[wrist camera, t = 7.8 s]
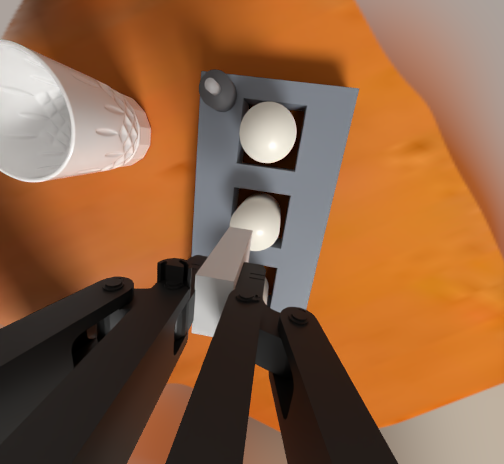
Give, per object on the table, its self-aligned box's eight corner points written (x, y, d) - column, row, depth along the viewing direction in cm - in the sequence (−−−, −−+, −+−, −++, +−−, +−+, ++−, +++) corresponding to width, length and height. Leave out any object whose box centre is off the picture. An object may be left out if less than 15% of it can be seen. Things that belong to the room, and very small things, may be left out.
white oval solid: (238, 228, 25) (227, 246, 20) (243, 189, 24) (232, 199, 19) (277, 235, 24) (275, 254, 20) (284, 196, 23) (283, 207, 18)
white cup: (70, 100, 24) (-71, 66, 14) (139, 73, 22) (32, 15, 13) (103, 179, 26) (-1, 194, 17) (169, 160, 24) (95, 164, 15)
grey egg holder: (198, 292, 29) (175, 328, 23) (212, 81, 22) (185, 55, 16) (299, 312, 28) (303, 354, 22) (349, 97, 21) (374, 75, 15)
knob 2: (246, 157, 23) (236, 159, 18) (252, 110, 21) (242, 98, 17) (289, 163, 22) (290, 166, 17) (298, 115, 21) (301, 105, 16)
